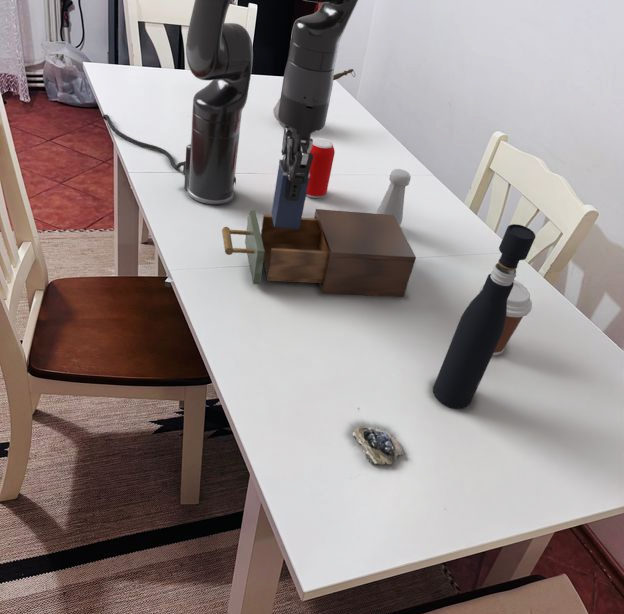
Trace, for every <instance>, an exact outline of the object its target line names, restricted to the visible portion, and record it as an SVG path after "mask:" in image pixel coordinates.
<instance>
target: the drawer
mask: <svg viewBox="0 0 624 614" xmlns="http://www.w3.org/2000/svg"><path fill="white" fill-rule="evenodd" d="M260 229H261V230H260ZM221 233H222V240H223V246H224V247H223V248H224V253H225V255H228V256H230V255H232V254H233V253H234V254H235V253H236V254H246V255H247V260H248V266H249V271H250V277H251V282H252V285H257V286H258V285H259V286H260V285H261V278H262V272H263V266H264V271H265V275H266V280H267V281H268V282H289V283H310V284H311V283H314V284H319V283H323V280H324V275H325V271H326V266H327V262H328V257H329V251H328V248H327V246H326V243H325V240H324V237H323V234H322V231H321V228H320V226H319V223H318V220H317V218H314V217H303V216H302V219H301V224H300V229H285V228H275V227H274V223H273V219H272V215H271V214H263V215H262V222H261V228H260V223H259V220H258V216H257V211H256V210H255V209H249V210H248V216H247V223H246V230H241V229H230V227H228V226H224V227H222V229H221ZM232 235H239V236H245V239H244V245H245V248H240V247H239V248H238V247H234V246H233V241H232Z"/></svg>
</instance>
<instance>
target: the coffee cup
mask: <svg viewBox="0 0 624 614" xmlns="http://www.w3.org/2000/svg"><path fill="white" fill-rule="evenodd" d="M513 284H514V286H513V288H512V290H511V292H510V295H509V297H508V299H507V314H506V321H505V326H504V330H503V333H502V335H501V338H500V340H499V342H498V344H497V346H496V349H495V351H494V353H493V355H492V356H498V355H501V354H502V353H503V352H504V351H505V348H506V346H507V345H508V343H509V341H510V339H511V338H512V336H513V335H514V332H515V331H516V329H517V327H518V326H519V324H520V322H521V320H523V318H524V317H526V316H528V314H530V313H531V311H532V309H533V302H532V299H531V293H530V292H529V290H528V288H527V287H526V286H525V285H524V284H523V283H521V282H519V281H517V280H516V279H514V282H513ZM483 287H484V284H483V285H482V286H481V287H480V289H479V293H480V292H481V291H482V289H483Z"/></svg>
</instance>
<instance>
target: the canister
mask: <svg viewBox="0 0 624 614" xmlns="http://www.w3.org/2000/svg"><path fill="white" fill-rule="evenodd" d="M286 161H287V160H282V159H279V161H278V169H277V175H276V182H275V189H274V194H273V201H272V207H271V214H270V215H272V219H273V223H274V227H275V228H285V229H300V224H301V219H302V217H303V214H304V208H305V202H306V197H307V195H306V192H307V187H308V182H309V178H310V173H309V174H308V178H307V182H306V184H303V183H301V188H300V194H299V199H298V201H287V200H286V198H285V193H286V187H287V181H288V172H289V165H288V164H287V163H286ZM296 174H300V173H296Z"/></svg>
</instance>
